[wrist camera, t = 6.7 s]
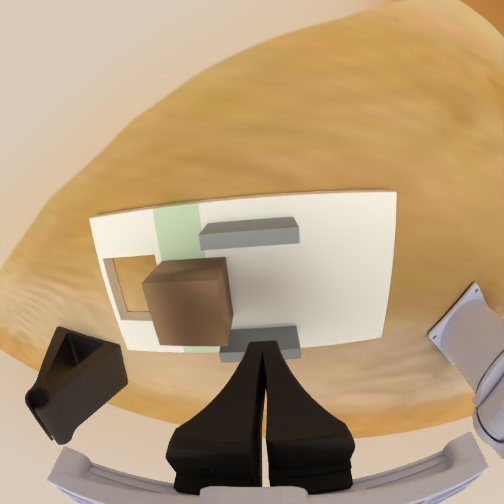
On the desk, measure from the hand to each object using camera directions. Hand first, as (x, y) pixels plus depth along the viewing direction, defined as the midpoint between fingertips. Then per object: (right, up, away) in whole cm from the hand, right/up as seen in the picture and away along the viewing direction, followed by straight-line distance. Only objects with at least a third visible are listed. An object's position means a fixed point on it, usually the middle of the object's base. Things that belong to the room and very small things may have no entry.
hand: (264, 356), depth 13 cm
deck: (-1, +3, +9) cm, 10 cm away
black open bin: (-19, -7, +13) cm, 25 cm away
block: (-5, +2, +8) cm, 10 cm away
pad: (-5, +3, +9) cm, 11 cm away
